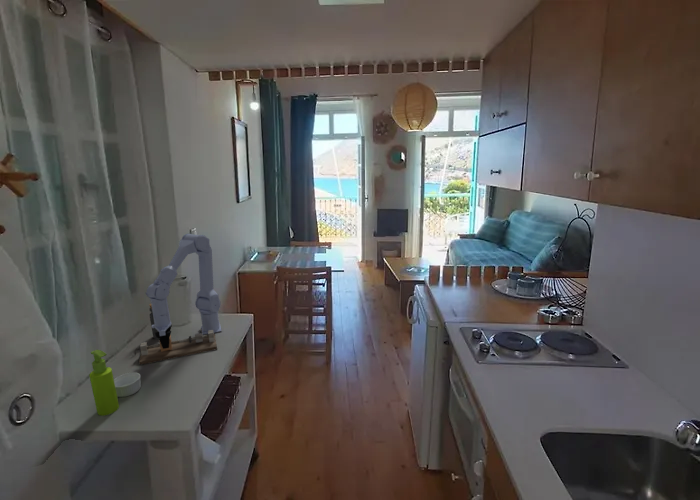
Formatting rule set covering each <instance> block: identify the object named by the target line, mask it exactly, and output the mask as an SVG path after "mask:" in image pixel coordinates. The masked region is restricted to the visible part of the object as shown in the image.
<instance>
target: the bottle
mask: <svg viewBox="0 0 700 500" xmlns="http://www.w3.org/2000/svg"><path fill="white" fill-rule="evenodd" d="M149 312H150V313H149V321H150V327H151V332H152V337H153V339H157V340H159V339H158V338H157V337H156V335H155V333H156V332H158V330H156V329H155V328H152V325H155V323H154V317H153V312H152V306H151V303H149Z"/></svg>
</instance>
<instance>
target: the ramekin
mask: <svg viewBox="0 0 700 500" xmlns="http://www.w3.org/2000/svg"><path fill="white" fill-rule="evenodd" d="M114 383H115V388H116V393H117V398H118V397H119V398H124V397H125V398H126V397H129V396H132V395H134V394H136V393H137V392H138V391H140V389H141V387H142V386H141V385H142V383H141V374H140V373H138V372H136V371H135V372H133V371H132V372H126V373H123V374H120V375H118V376H116V377H115V378H114Z"/></svg>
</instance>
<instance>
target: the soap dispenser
mask: <svg viewBox="0 0 700 500" xmlns="http://www.w3.org/2000/svg"><path fill="white" fill-rule="evenodd" d="M90 354H91V355H93V361H92V362H91V365H92V371H91V372H90V373H89V379H90V385H91V389H92V390H91V391H92V394H93V401H94V405H95V408H96V413H97V415H98V416H102V417H104V416H108V415H112V414H113V413H115V412H117V411H118V410H119V408H120V404H119V398H118V397H117V393H116V388H115V383H114V379H115V378H114V374H113V369H112V367H109V366H107V363H106V360H105V358H103V357H106V356H107V353H106V352H104V351H103V350H100V349H95V350H93V351H91V352H90Z"/></svg>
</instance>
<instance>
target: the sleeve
mask: <svg viewBox="0 0 700 500" xmlns="http://www.w3.org/2000/svg"><path fill="white" fill-rule="evenodd" d="M158 341H159V340H158ZM172 341H173V340H172V333H171V334H170V338H169V348H165V349H163V347H162V345H161V343H160V341H159V344H160V348H161V352H162V351H167V350H172V344H171V342H172Z"/></svg>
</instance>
